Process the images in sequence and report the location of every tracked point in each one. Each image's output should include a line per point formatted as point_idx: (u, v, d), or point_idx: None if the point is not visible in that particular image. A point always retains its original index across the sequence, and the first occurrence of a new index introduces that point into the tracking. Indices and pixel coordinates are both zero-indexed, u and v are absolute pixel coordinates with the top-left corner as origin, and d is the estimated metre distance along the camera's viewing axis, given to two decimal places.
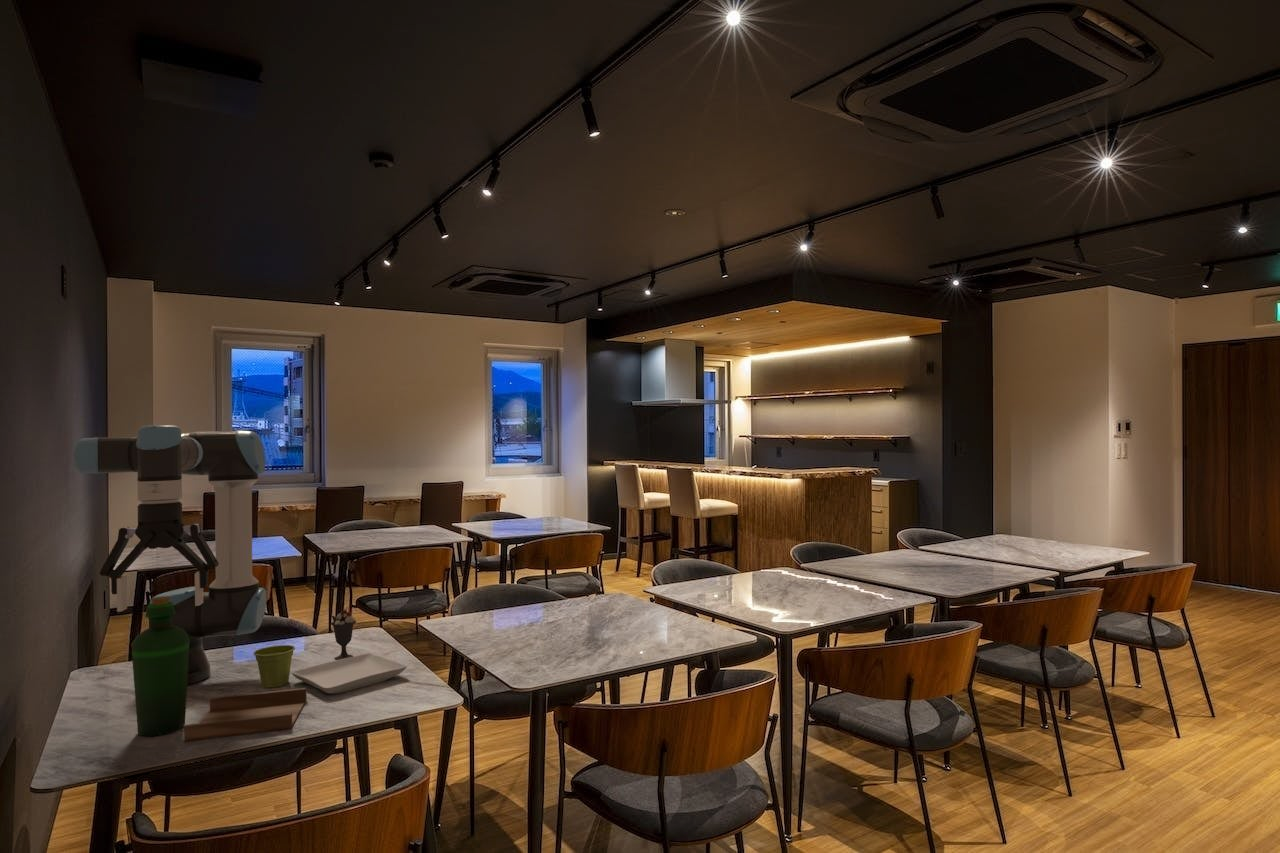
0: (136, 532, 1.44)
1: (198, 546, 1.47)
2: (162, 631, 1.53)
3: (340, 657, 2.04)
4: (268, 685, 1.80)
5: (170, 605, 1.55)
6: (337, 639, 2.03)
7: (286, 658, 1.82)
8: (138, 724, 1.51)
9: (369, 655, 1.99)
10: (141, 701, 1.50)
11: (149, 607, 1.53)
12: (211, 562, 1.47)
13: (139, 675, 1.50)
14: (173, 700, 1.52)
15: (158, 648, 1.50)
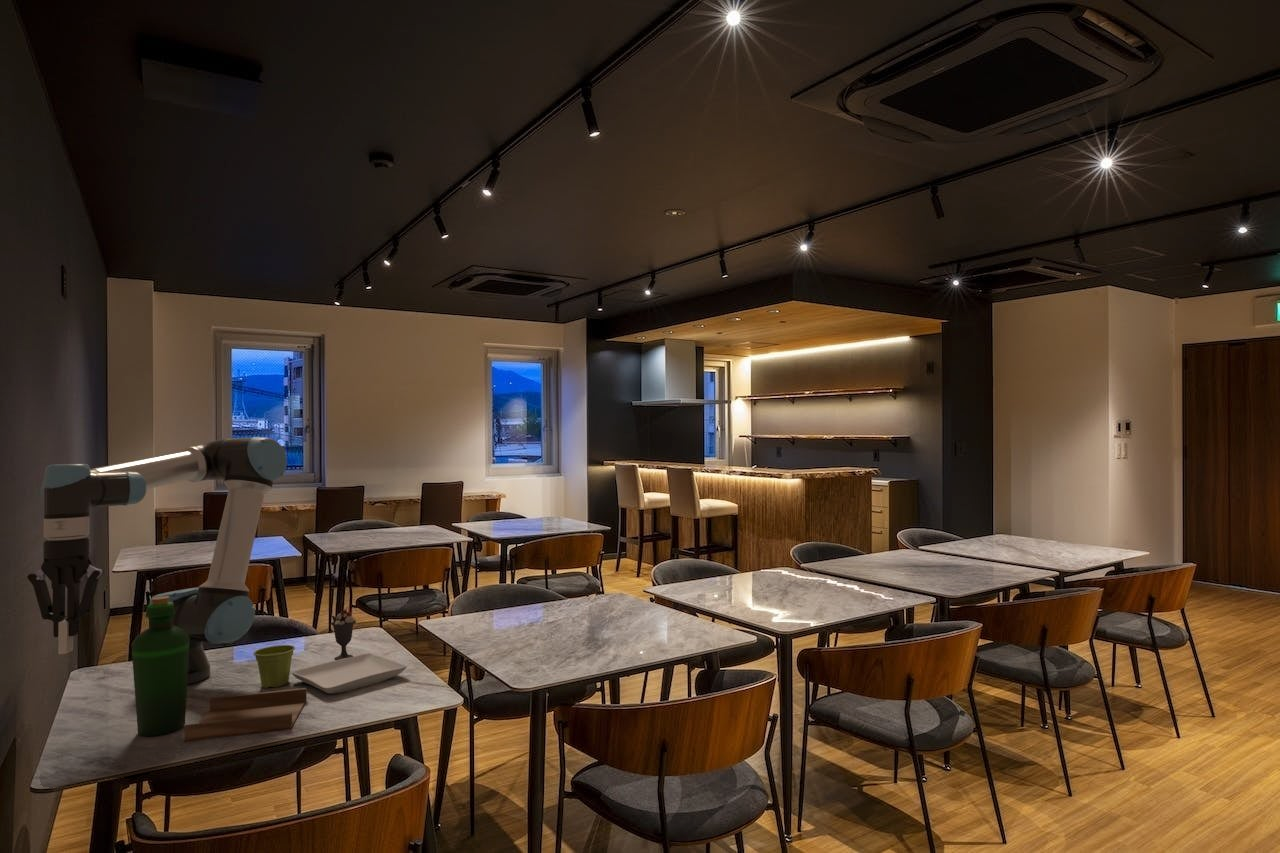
0: (43, 570, 1.49)
1: (85, 591, 1.50)
2: (162, 631, 1.53)
3: (340, 657, 2.04)
4: (268, 685, 1.80)
5: (170, 605, 1.55)
6: (337, 639, 2.03)
7: (286, 658, 1.82)
8: (138, 724, 1.51)
9: (369, 655, 1.99)
10: (141, 701, 1.50)
11: (149, 607, 1.53)
12: (82, 611, 1.50)
13: (139, 674, 1.50)
14: (173, 700, 1.52)
15: (158, 648, 1.50)
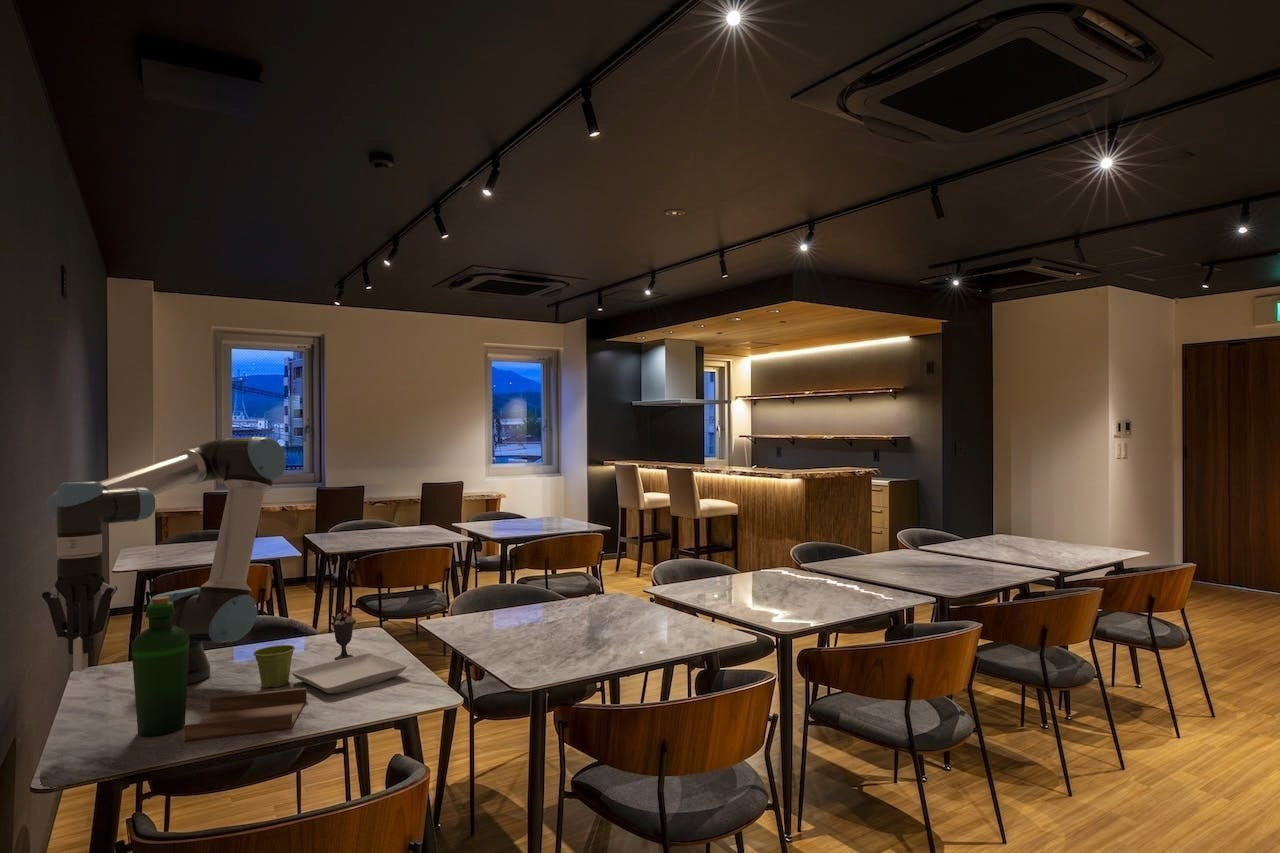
0: (57, 588, 1.49)
1: (99, 608, 1.51)
2: (162, 631, 1.53)
3: (340, 657, 2.04)
4: (268, 685, 1.80)
5: (170, 605, 1.55)
6: (337, 639, 2.03)
7: (286, 658, 1.82)
8: (138, 724, 1.51)
9: (369, 655, 1.99)
10: (141, 701, 1.50)
11: (149, 607, 1.53)
12: (96, 628, 1.51)
13: (139, 674, 1.50)
14: (173, 700, 1.52)
15: (158, 648, 1.50)
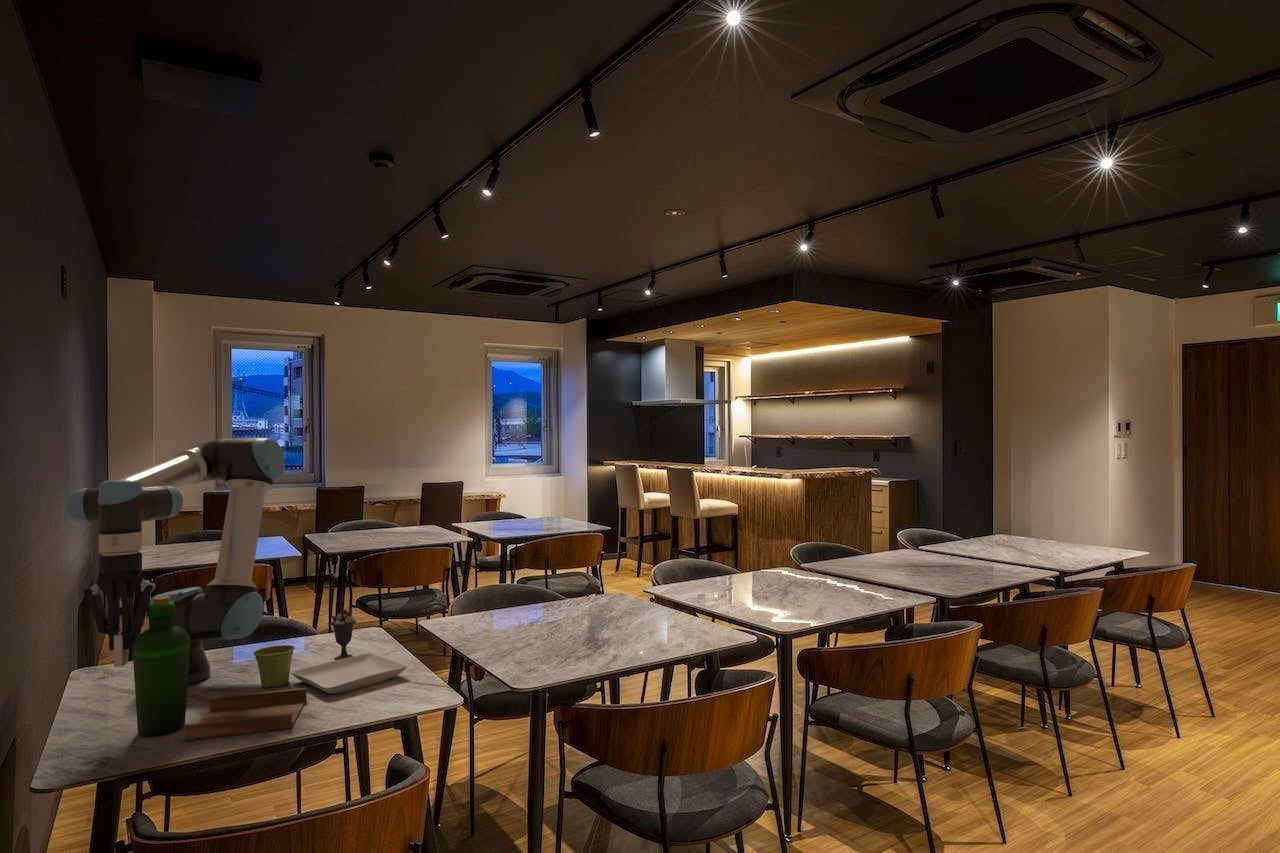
0: (98, 585, 1.51)
1: (139, 605, 1.53)
2: (163, 631, 1.53)
3: (340, 657, 2.04)
4: (268, 685, 1.80)
5: (171, 605, 1.55)
6: (337, 639, 2.03)
7: (286, 658, 1.82)
8: (138, 724, 1.51)
9: (369, 655, 1.99)
10: (142, 701, 1.50)
11: (150, 607, 1.53)
12: (136, 624, 1.53)
13: (139, 674, 1.50)
14: (173, 700, 1.52)
15: (159, 648, 1.50)
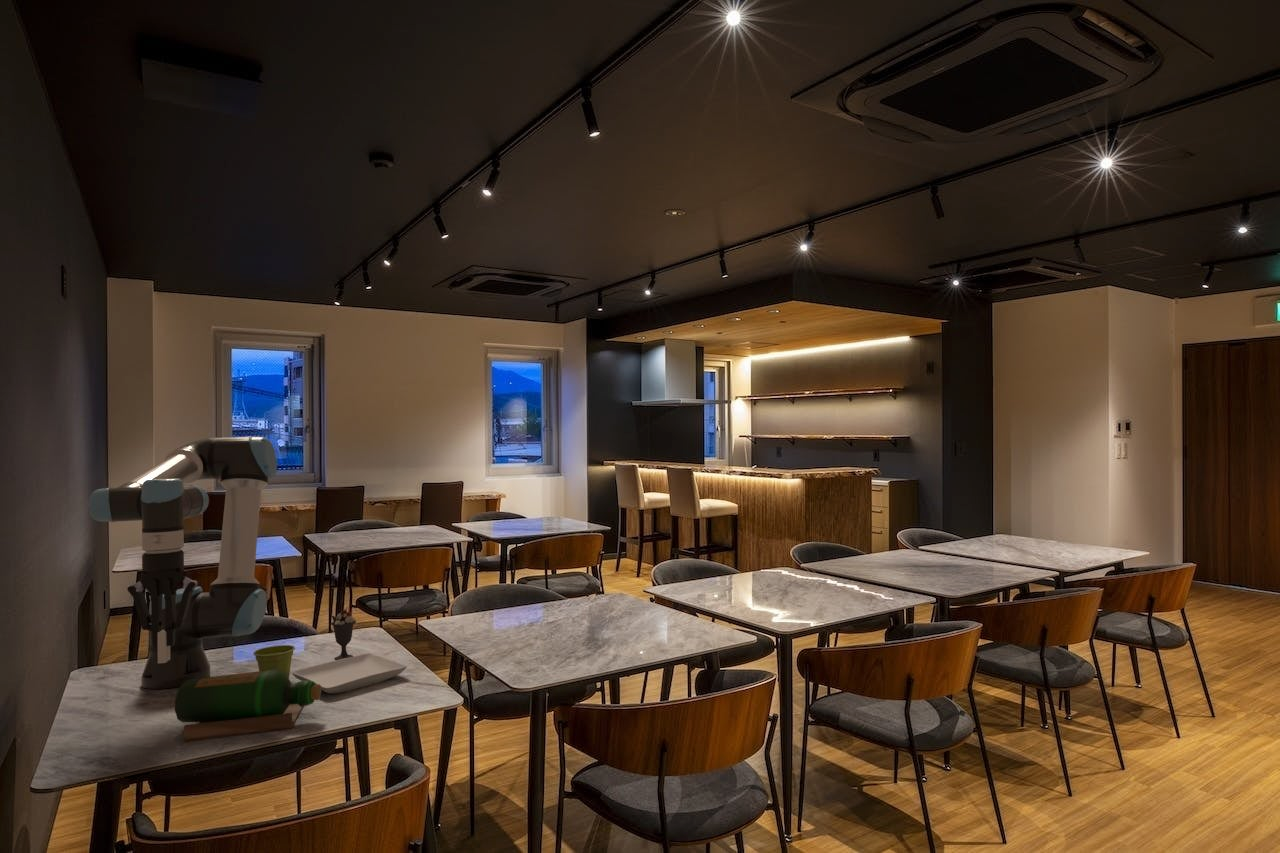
0: (142, 582, 1.53)
1: (182, 602, 1.55)
2: (282, 704, 1.55)
3: (340, 657, 2.04)
4: None
5: None
6: (337, 639, 2.03)
7: (286, 658, 1.82)
8: (188, 690, 1.53)
9: (369, 655, 1.99)
10: (210, 695, 1.52)
11: (308, 689, 1.56)
12: (180, 621, 1.55)
13: (238, 692, 1.53)
14: (210, 719, 1.53)
15: (263, 710, 1.52)
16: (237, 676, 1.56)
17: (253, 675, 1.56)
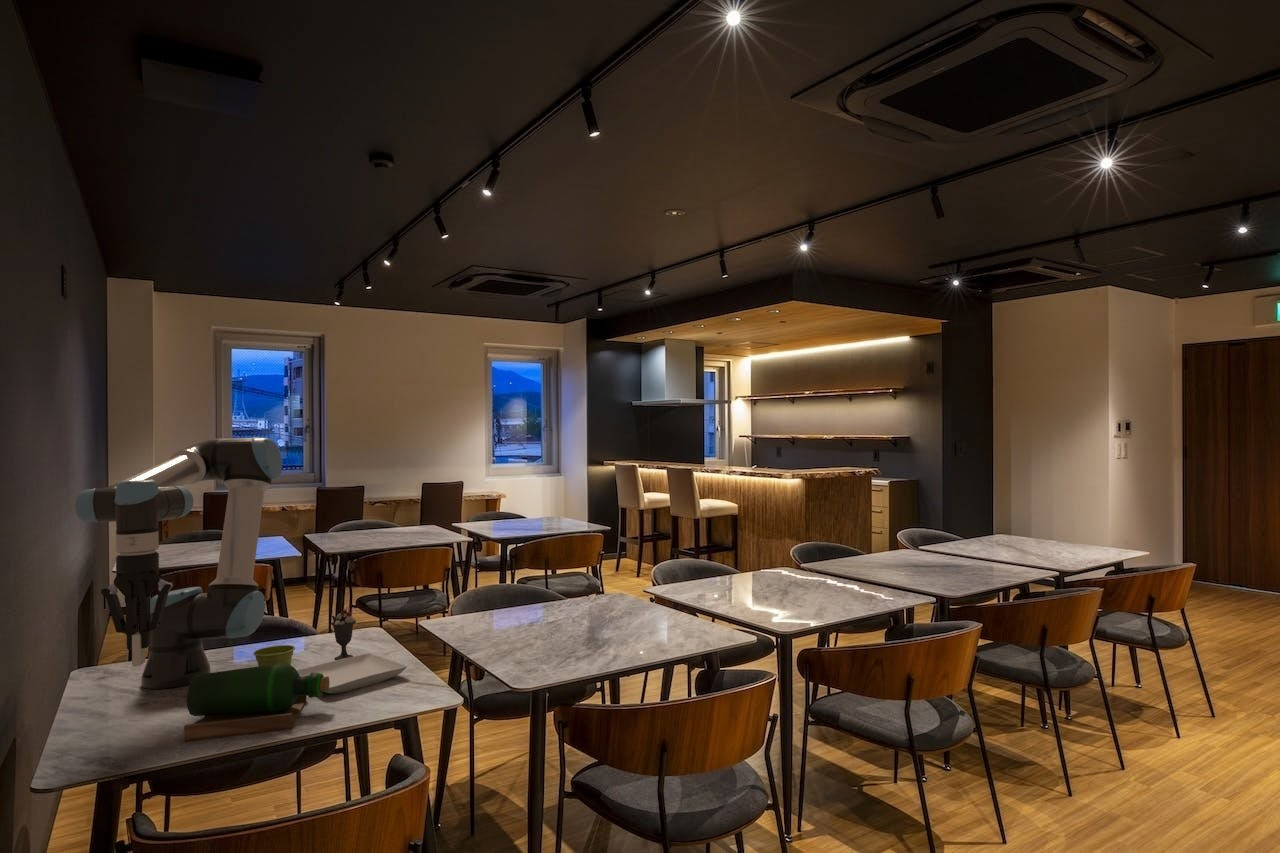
0: (116, 584, 1.52)
1: (157, 604, 1.54)
2: (292, 684, 1.60)
3: (340, 657, 2.04)
4: None
5: (317, 690, 1.62)
6: (337, 639, 2.03)
7: (286, 658, 1.82)
8: (207, 673, 1.61)
9: (369, 655, 1.99)
10: (227, 672, 1.60)
11: (320, 674, 1.64)
12: (155, 623, 1.54)
13: (255, 668, 1.61)
14: (218, 697, 1.56)
15: (276, 679, 1.58)
16: None
17: None
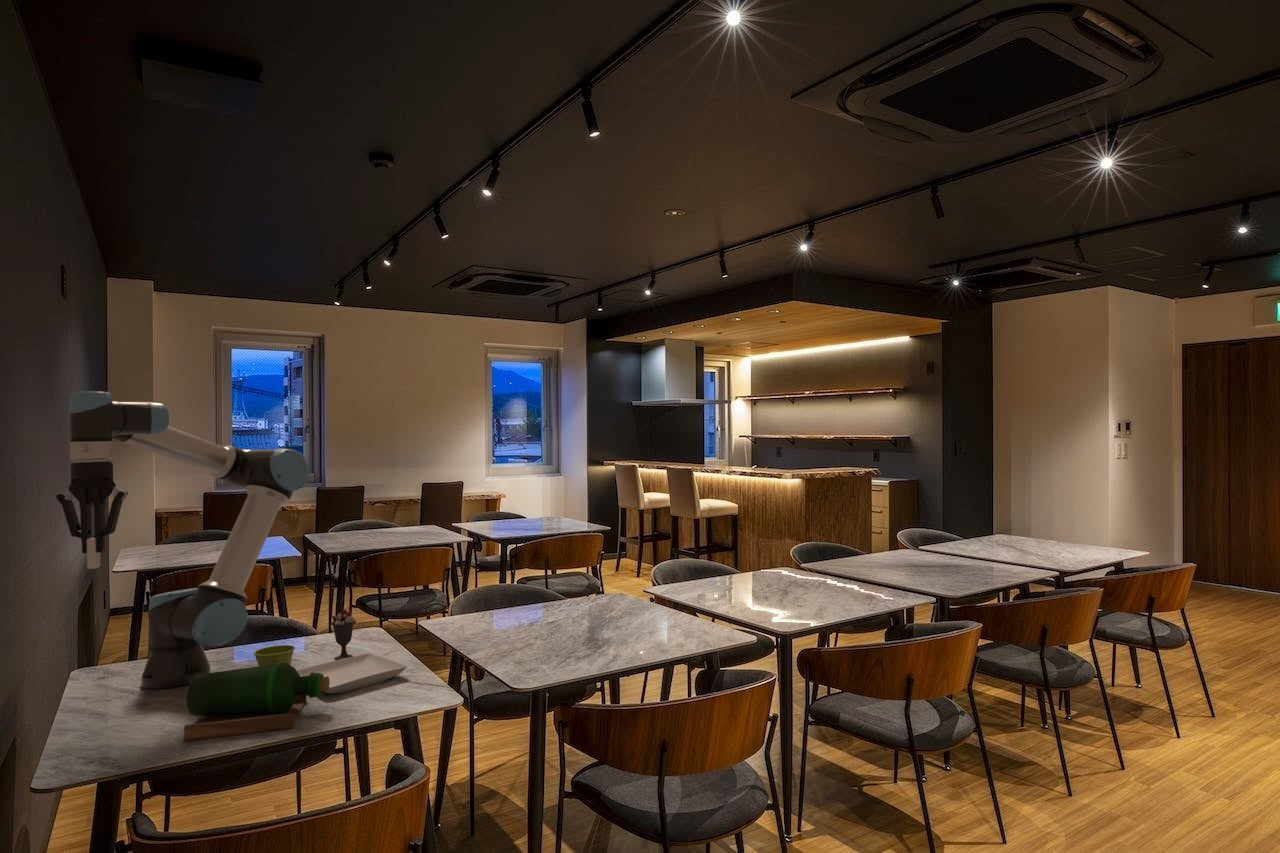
0: (71, 490, 1.58)
1: (111, 510, 1.60)
2: (292, 684, 1.60)
3: (340, 657, 2.04)
4: None
5: (317, 690, 1.62)
6: (337, 639, 2.03)
7: (286, 658, 1.82)
8: (206, 673, 1.61)
9: (369, 655, 1.99)
10: (227, 672, 1.60)
11: (320, 674, 1.64)
12: (109, 529, 1.60)
13: (255, 668, 1.61)
14: (218, 697, 1.56)
15: (276, 679, 1.58)
16: None
17: None
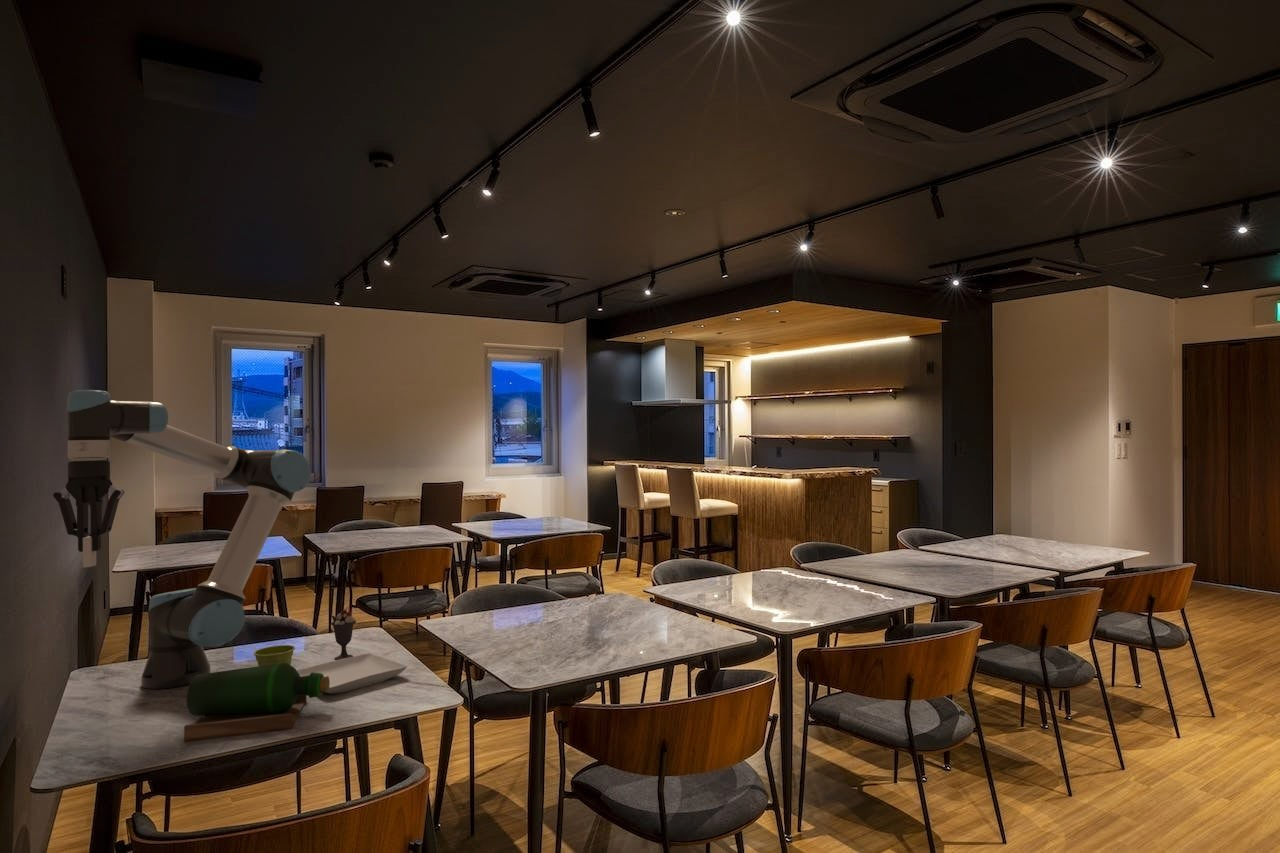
0: (68, 489, 1.59)
1: (107, 509, 1.61)
2: (292, 684, 1.60)
3: (340, 657, 2.04)
4: None
5: (317, 690, 1.62)
6: (337, 639, 2.03)
7: (286, 658, 1.82)
8: (206, 673, 1.61)
9: (369, 655, 1.99)
10: (228, 672, 1.60)
11: (320, 674, 1.64)
12: (105, 527, 1.60)
13: (255, 668, 1.61)
14: (218, 697, 1.56)
15: (276, 679, 1.58)
16: None
17: None
